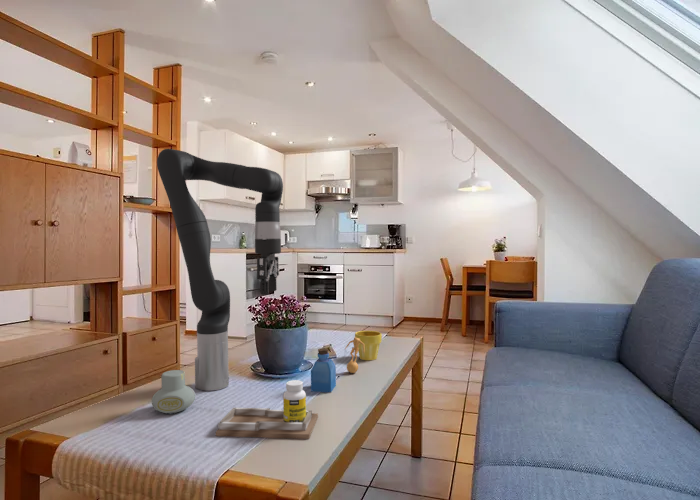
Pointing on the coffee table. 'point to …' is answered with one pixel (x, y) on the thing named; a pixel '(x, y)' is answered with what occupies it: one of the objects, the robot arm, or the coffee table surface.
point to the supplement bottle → (294, 402)
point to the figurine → (352, 365)
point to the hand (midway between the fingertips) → (268, 292)
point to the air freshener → (173, 393)
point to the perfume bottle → (323, 373)
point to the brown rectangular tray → (264, 424)
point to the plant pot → (369, 344)
